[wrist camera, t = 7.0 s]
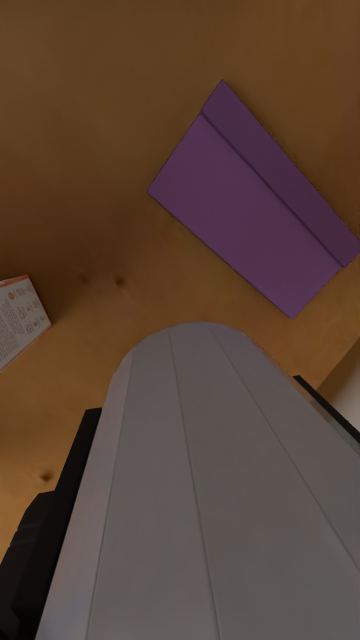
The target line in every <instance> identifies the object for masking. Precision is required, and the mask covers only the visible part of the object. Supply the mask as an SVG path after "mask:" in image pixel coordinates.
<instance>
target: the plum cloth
mask: <svg viewBox="0 0 360 640" xmlns="http://www.w3.org/2000/svg"><path fill="white" fill-rule="evenodd" d="M147 193H148V194H149V195H150V196H151V197H153V198H154V199H155V200H156V201H157V202H158V203H159V204H160V205H162V206H163V207H164V208H165V209H166V210H167V211H168V212H170V213H171V214H172V215H173V216H174V217H175V218H176V219H177V220H179V221H180V222H181V223H182V224H183V225H184V226H185V227H187V228H188V229H189V230H190V231H191V232H192V233H193V234H195V235H196V236H197V237H198V238H199V239H200V240H201V241H202V242H204V243H205V244H206V245H207V246H208V247H209V248H210V249H212V250H213V251H214V252H215V253H216V254H217V255H218V256H220V257H221V258H222V259H223V260H224V261H225V262H226V263H227V264H229V265H230V266H231V267H232V268H233V269H234V270H235V271H237V272H238V273H239V274H240V275H241V276H242V277H243V278H245V279H246V280H247V281H248V282H249V283H250V284H251V285H252V286H254V287H255V288H256V289H257V290H258V291H259V292H260V293H262V294H263V295H264V296H265V297H266V298H267V299H268V300H270V301H271V302H272V303H273V304H274V305H275V306H276V307H277V308H279V309H280V310H281V311H282V312H283V313H284V314H285V315H287V316H288V317H289V318H291V319H294V317H295V316H296V315H297V314H298V313H299V312H300V311H301V310H302V309H303V308H304V307H305V306H306V305H307V304H308V303H309V301H310V300H311V299H312V298H313V297H314V296H315V295H316V294H317V293H318V292H319V291H320V290H321V289H322V288H323V287H324V285H325V284H326V283H327V282H328V281H329V280H330V279H331V278H332V277H333V276H334V275H335V274H336V273H337V272H338V271H339V269H340V268H341V267H347V266H348V264H349V263H350V262H351V261H352V260H353V259H354V258H355V257H356V256H357V255H358V254H359V253H360V241H359V240H358V239H357V238H356V236H355V235H354V234H353V233H352V232H351V231H350V229H349V228H348V227H347V226H346V225H345V223H344V222H343V221H342V220H341V219H340V218H339V216H338V215H337V214H336V213H335V212H334V210H333V209H332V208H331V207H330V206H329V205H328V203H327V202H326V201H325V200H324V199H323V197H322V196H321V195H320V194H319V193H318V192H317V190H316V189H315V188H314V187H313V186H312V184H311V183H310V182H309V181H308V180H307V178H306V177H305V176H304V175H303V174H302V173H301V171H300V170H299V169H298V168H297V167H296V165H295V164H294V163H293V162H292V161H291V160H290V158H289V157H288V156H287V155H286V154H285V152H284V151H283V150H282V149H281V148H280V147H279V145H278V144H277V143H276V142H275V141H274V139H273V138H272V137H271V136H270V135H269V133H268V132H267V131H266V130H265V129H264V128H263V126H262V125H261V124H260V123H259V122H258V120H257V119H256V118H255V117H254V116H253V115H252V113H251V112H250V111H249V110H248V109H247V107H246V106H245V105H244V104H243V103H242V102H241V100H240V99H239V98H238V97H237V96H236V94H235V93H234V92H233V91H232V90H231V88H230V87H229V86H228V85H227V84H226V83H225V81H224V80H223V79H222V80H221V81H220V83H219V84H218V86H217V87H216V89H215V90H214V91H213V93H212V94H211V96H210V97H209V99H208V100H207V102H206V103H205V105H204V106H203V108H202V109H201V111H200V113H199V115H198V116H197V118H196V119H195V121H194V122H193V124H192V125H191V127H190V128H189V130H188V131H187V132H186V134H185V135H184V137H183V138H182V140H181V141H180V143H179V144H178V146H177V147H176V148H175V150H174V151H173V153H172V154H171V156H170V157H169V159H168V160H167V162H166V163H165V165H164V166H163V167H162V169H161V170H160V172H159V173H158V175H157V176H156V178H155V179H154V181H153V182H152V183H151V185H150V186H149V188H148V189H147Z"/></svg>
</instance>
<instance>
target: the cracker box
mask: <svg viewBox="0 0 360 640" xmlns="http://www.w3.org/2000/svg"><path fill="white" fill-rule="evenodd" d="M51 327H52V324H51V322H50V320H49V318H48V316H47V313H46V311H45V309H44V307H43V305H42V303H41V301H40V299H39V297H38V295H37V293H36V291H35V289H34V287H33V284H32V283H31V281H30V278H29V276H28V275H23V276H19V277H15V278H11V279H7V280H3V281H0V373H1V372H2V371H3V370H5V369H6V368H7V367H8V366H9V365H10V364H11V363H12V362H13V361H14V360H16V359H17V358H18V357H19V356H20V355H21V354H22V353H23V352H24V351H25V350H26V349H28V348H29V347H30V346H31V345H32V344H33V343H34V342H35V341H36V340H37V339H38V338H39V337H40V336H42V335H43V334H44V333H45V332H46V331H47V330H49V328H51Z"/></svg>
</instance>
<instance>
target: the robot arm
mask: <svg viewBox="0 0 360 640" xmlns="http://www.w3.org/2000/svg"><path fill="white" fill-rule="evenodd" d="M292 377H293V378H294V379H295V380H296V381H297V382H298V383H299V384H300V385H301V386H302V387H303V388H304V389H305V390H306V391H307V392H308V393H309V394H310V395H311V396H312V397H313V398H314V399H315V400H316V401H317V402H318V403H319V404H320V405H321V406H322V407H323V408H324V409H325V410H326V411H327V412H328V413H329V414H330V415H331V416H332V417H333V418H334V419H335V420H336V421H337V422H338V423H339V424H340V425H341V426H342V427H343V428H344V429H345V430H346V431H347V432H348V433H349V434H350V435H351V436H352V437H353V438H354V439H355V440H356V441H357V442H358V443H359V444H360V432H359V431H358V430H356V428H354V427H353V426H352V425H351V424H350V423H349V422H348V421H347V420H346V419H345V418H344V417H343V416H342V415H341V414H339V412H338V411H337V410H335V409H334V408H333V407H332V406H331V405H330V404H329V403H328V402H327V401H326V400H325V399H324V398H323V397H322V396H321V395H320V394H319V393H317V392H316V391H315V390H314V389H313V388H312V387H311V386H310V385H309V384H308V383H307V382H306V381H305V380H304V379H303V378H302V377H301V376H300V375H298V376H292ZM101 412H102V408H101V407H100V408H94V409H88V410H86V411H85V413H84V416H83V418H82V421H81V424H80V426H79V429H78V431H77V434H76V437H75V439H74V442H73V444H72V447H71V449H70V452H69V455H68V457H67V460H66V462H65V465H64V468H63V470H62V473H61V475H60V478H59V480H58V483H57V486H56V488H55V491H50V492H45V493H39V494H38V495H37V496H36V498H35V499H34V500H33V501H32V503H31V504H30V505H29V507H28V508H27V509H26V511H25V513H24V515H23V517H22V519H21V521H20V524H19V526H18V530H17V532H15V534H14V537H13V539H12V541H11V543H10V547H9V548H8V549H7V552H6V554H5V556H4V558H3V560H2V562H1V565H0V640H35V638H36V634H37V631H38V628H39V624H40V621H41V617H42V614H43V610H44V607H45V604H46V600H47V597H48V593H49V590H50V587H51V583H52V580H53V576H54V573H55V569H56V566H57V563H58V559H59V556H60V552H61V549H62V546H63V542H64V539H65V535H66V532H67V528H68V525H69V522H70V518H71V515H72V511H73V508H74V505H75V501H76V498H77V494H78V491H79V487H80V484H81V481H82V477H83V474H84V470H85V467H86V464H87V460H88V457H89V453H90V450H91V446H92V443H93V440H94V436H95V433H96V429H97V426H98V423H99V419H100V416H101Z"/></svg>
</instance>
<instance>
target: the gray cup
mask: <svg viewBox="0 0 360 640" xmlns="http://www.w3.org/2000/svg"><path fill="white" fill-rule="evenodd" d="M35 640H360V444H359V443H358V442H357V441H356V440H355V439H354V438H353V437H352V436H351V435H350V434H349V433H348V432H347V431H346V430H345V429H344V428H343V427H342V426H341V425H340V424H339V423H338V422H337V421H336V420H335V419H334V418H333V417H332V416H331V415H330V414H329V413H328V412H327V411H326V410H325V409H324V408H323V407H322V406H321V405H320V404H319V403H318V402H317V401H316V400H315V399H314V398H313V397H312V396H311V395H310V394H309V393H308V392H307V391H306V390H305V389H304V388H303V387H302V386H301V385H300V384H299V383H298V382H297V381H296V380H295V379H294V378H293V377H292V376H291V375H290V374H289V373H288V372H287V371H286V370H285V369H284V368H283V367H282V366H281V365H280V364H279V363H278V362H277V361H276V360H275V359H274V358H273V357H272V356H271V355H270V354H269V353H268V352H267V351H266V350H265V349H263V348H262V347H261V346H260V345H259V344H257V343H256V342H255V341H254V340H253V339H252V338H251V337H249V336H248V335H246V334H245V333H243V332H241V331H239V330H237V329H235V328H233V327H229V326H226V325H223V324H218V323H212V322H188V323H182V324H177V325H173V326H170V327H167V328H164V329H162V330H159V331H157V332H155V333H153V334H151V335H150V336H148V337H146V338H145V339H143V340H142V341H140V342H139V343H138V344H137V345H136V346H134V347H133V348H132V349H131V350H130V351H129V352H128V354H127V355H126V356H125V357H124V358H123V360H122V361H121V363H120V364H119V365H118V367H117V369H116V371H115V373H114V375H113V376H112V378H111V382H110V385H109V388H108V392H107V395H106V399H105V402H104V405H103V409H102V412H101V416H100V419H99V423H98V426H97V429H96V433H95V436H94V440H93V443H92V446H91V450H90V453H89V457H88V460H87V464H86V467H85V470H84V474H83V477H82V481H81V484H80V487H79V491H78V494H77V498H76V501H75V505H74V508H73V511H72V515H71V518H70V522H69V525H68V528H67V532H66V535H65V539H64V542H63V546H62V549H61V552H60V556H59V559H58V563H57V566H56V569H55V573H54V576H53V580H52V583H51V587H50V590H49V593H48V597H47V600H46V604H45V607H44V610H43V614H42V617H41V621H40V624H39V628H38V631H37V634H36V638H35Z"/></svg>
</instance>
